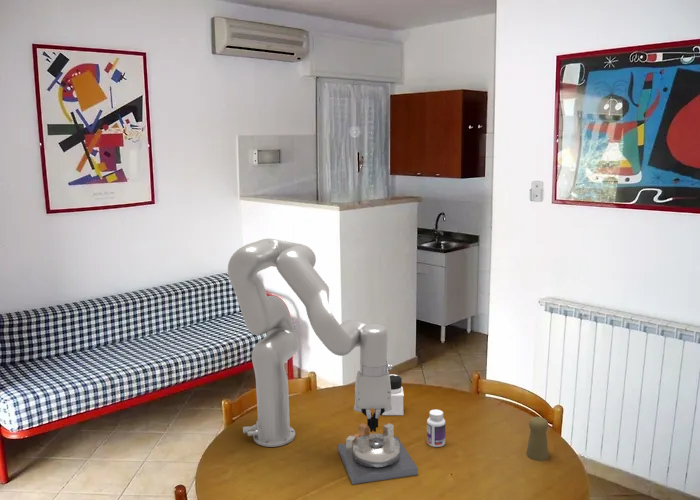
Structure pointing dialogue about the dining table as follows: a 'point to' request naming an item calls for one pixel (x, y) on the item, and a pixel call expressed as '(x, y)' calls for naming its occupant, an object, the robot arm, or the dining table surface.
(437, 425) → the pill bottle
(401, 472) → the base plate
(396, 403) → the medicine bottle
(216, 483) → the dining table surface
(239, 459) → the dining table surface
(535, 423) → the olive pawn
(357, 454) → the round disc with cubes
